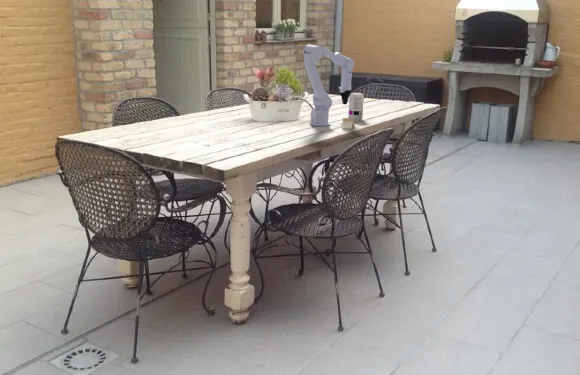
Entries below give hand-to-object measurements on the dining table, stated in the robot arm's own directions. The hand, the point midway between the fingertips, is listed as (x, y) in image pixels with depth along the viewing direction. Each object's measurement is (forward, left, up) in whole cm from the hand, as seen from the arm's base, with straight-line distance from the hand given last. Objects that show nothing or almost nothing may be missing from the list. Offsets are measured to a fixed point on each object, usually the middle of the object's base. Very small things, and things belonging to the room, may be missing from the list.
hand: (344, 104), depth 350 cm
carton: (-4, -12, -10) cm, 16 cm away
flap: (-6, -14, -7) cm, 17 cm away
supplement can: (+12, +7, -11) cm, 18 cm away
